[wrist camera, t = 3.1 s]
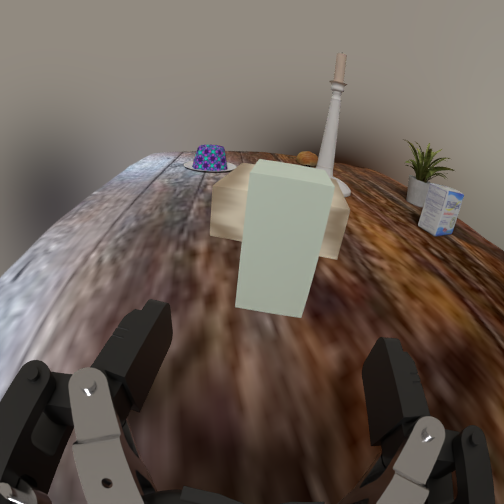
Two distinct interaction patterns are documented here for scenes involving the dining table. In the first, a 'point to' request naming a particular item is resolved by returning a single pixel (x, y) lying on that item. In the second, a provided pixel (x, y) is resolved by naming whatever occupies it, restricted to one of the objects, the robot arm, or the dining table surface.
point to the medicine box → (440, 210)
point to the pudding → (210, 159)
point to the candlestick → (333, 124)
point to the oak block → (234, 206)
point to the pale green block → (282, 236)
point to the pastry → (307, 158)
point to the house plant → (422, 175)
